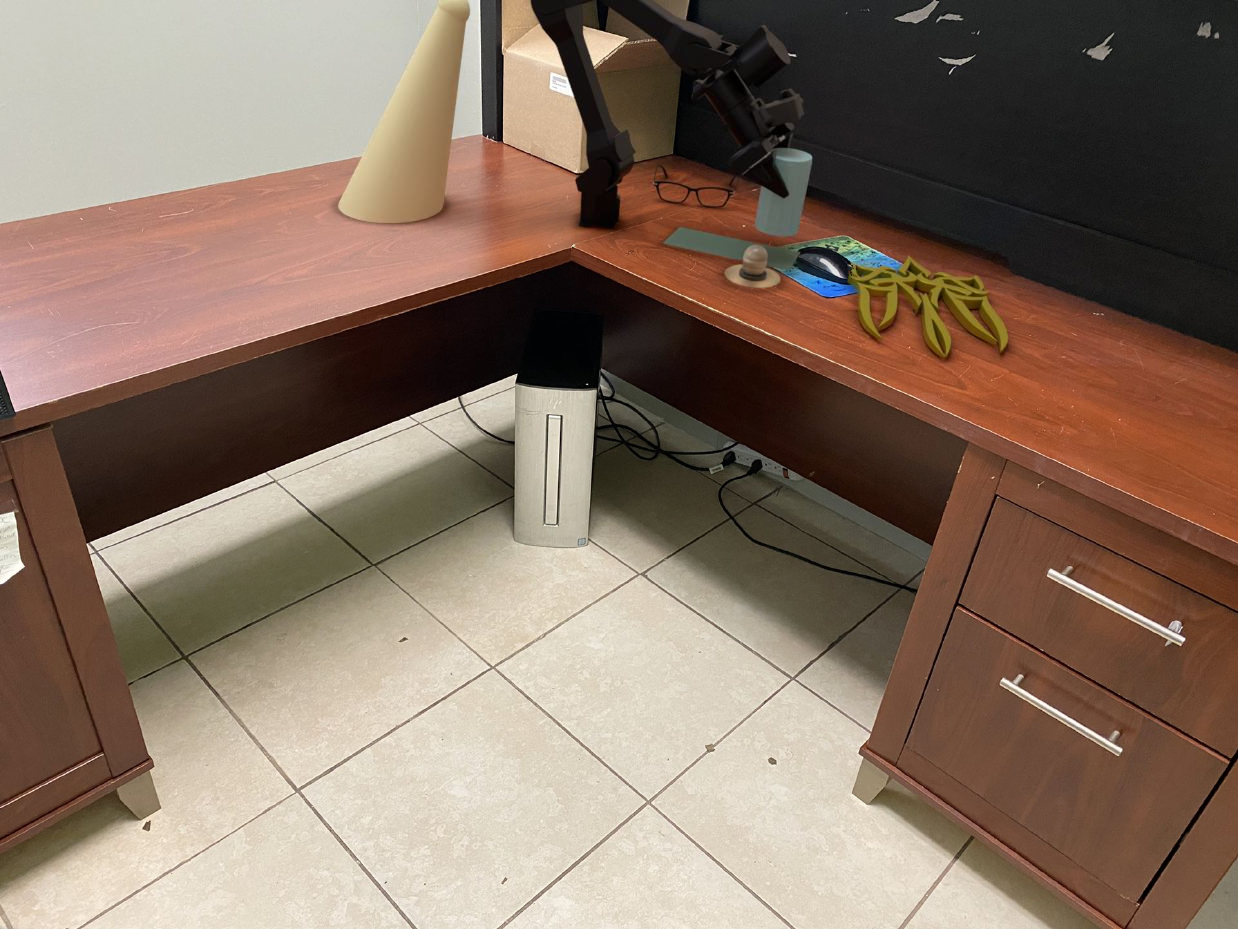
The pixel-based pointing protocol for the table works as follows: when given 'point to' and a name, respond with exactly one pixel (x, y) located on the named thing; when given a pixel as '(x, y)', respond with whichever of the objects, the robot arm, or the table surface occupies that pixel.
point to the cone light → (414, 130)
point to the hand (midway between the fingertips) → (792, 190)
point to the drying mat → (729, 247)
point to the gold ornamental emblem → (927, 302)
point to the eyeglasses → (693, 189)
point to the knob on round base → (753, 270)
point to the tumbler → (786, 212)
